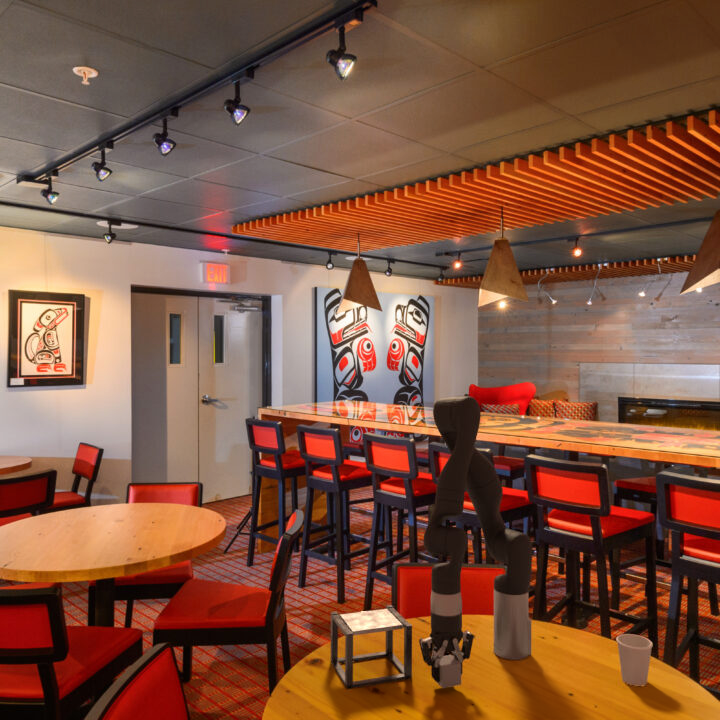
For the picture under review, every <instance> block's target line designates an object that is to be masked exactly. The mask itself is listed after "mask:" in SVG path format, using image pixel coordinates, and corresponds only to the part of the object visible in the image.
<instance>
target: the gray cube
mask: <svg viewBox="0 0 720 720" xmlns="http://www.w3.org/2000/svg"><path fill="white" fill-rule="evenodd" d="M439 667H440V682H436V684H438V685H439V686H440V687H441V688H442V689H446V688H450V687H455V686H461V685H462V675H461V663H460V662H459V661H458V660H457V659H455V657H454V655H452V654H448V655H446V654H445V655H443V658H441V660H440V664H439Z"/></svg>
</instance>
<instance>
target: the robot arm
mask: <svg viewBox="0 0 720 720" xmlns="http://www.w3.org/2000/svg"><path fill="white" fill-rule="evenodd" d="M432 411H433V412H432V414H433V421H434V423H435V427H436V428H437V430H438V432H439V434H440V437H441V438H442V440H443V441H444V443H445V445H446V447H447V449H448V451H449V453H450V456H449V458H448V459H447V461H446V463H445V464H444V466H443V467H442V469H441V472H440V474H439V476H438V479H437V484H436V491H435V498H434V499H435V501H434V506H433V509H432V513H431V515H430V518H429V521H428V524H427V525H426V528H425V530H424V534H423V539H422V541H423V545H424V546H423V547H424V549H425V550H426V552H427V553H429V554H432V555H437V556H443V557H449V558H450V559H449V562H441V563H440V562H439V563H436V564H434V565H433V566H432V568H431V572H430V573H431V576H430V577H431V581H430V582H431V593H430V630H431V631H430V634H429V636H430V637H429V636H428V637H427V638H423V637H422V638H419V640H418V642H419V647H420V651H421V655H422V659H423V662H424V663H425V664H426V665H427V666H428V667H430V669H431V672H430V673H431V678H432V679H433V680H434V682H436V683H437V682H440V667H439V664H440V660H441V658H443V656H445V654H444V653H446V652H448V651H452V652H451V653H452V654H453V655H452V656H453V657H454V658H455V659H457V660H458V661H459V662H460V663H461V676H462V675H463V662H464V661H465V660H468V659H470V658H471V653H472V647H473V642H474V637H475V636H474V634H473V633H471V632H470V631H469V630H465V631H463V630H462V628H463V599H462V593H461V592H462V591H461V589H462V588H461V587H462V586H461V576H462V574H461V573H462V567H463V562H464V559H465V555H466V551H467V547H468V542H469V539H468V535H467V533H466V530H464V529H463V528H462V527H458V526H450V525H444V522H445V521H446V520H447V519H449V518H455V517H456V518H457V517H460V516H462V514H463V512H464V504H465V494H466V492H467V495H468V497H469V499H470V502H471V504H472V506H473V509H474V511H475V514H476V517H477V518H478V521H479V524H480V528H481V531H482V535H483V538H484V542H485V545H486V548H487V551H488V553H489V555H490V556H491V557H492V559H493V560H495V561H497V562H500V563H502V564H505V565H506V573H503V574H499V575H497V576H495V577H494V580H493V652H494V654H495V655H496V656H498V657H500V658H502V659H505V660H506V659H507V660H512V661H513V660H514V661H517V660H518V661H519V660H523V659H524V660H525V659H526V658H527V657H528V656H531V655H532V619H531V617H529V585H530V583H531V579H532V565H533V543H532V540H531V538H530V536H529V535H527V534H526V533H524V532H520V531H517V530H513V529H509V528H508V527H507V525H506V524H505V521H504V520H503V518H502V514H501V512H500V510H501V509H500V507H501V503H502V500H503V493H504V491H503V486H502V483H501V480H500V477H499V474H498V473H497V470H496V468H495V466H494V465H493V463H492V462H491V460H489V459H488V458H487V457H486V456H485V454H483V453H482V452H481V451H480V450H478V449H477V447H476V446H475V445H476V441H477V437H478V433H479V429H480V423H481V407H480V404H479V402H478V401H477V399H476V398H475V397H473V396H467V395H466V396H452V397H443V398H440V399H438V400H436V401H435V403H434V405H433V409H432ZM461 641H462V644H461V647H460V643H461ZM431 642H432V643H433V644H434V646H433V649H432V652H431V651H430V650H429V648H430V644H431ZM438 650H439V652H438ZM430 652H431V653H430Z"/></svg>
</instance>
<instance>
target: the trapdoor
mask: <svg viewBox="0 0 720 720" xmlns="http://www.w3.org/2000/svg"><path fill="white" fill-rule="evenodd" d="M338 615H339V616H340V618H341V619H342V620H343V622H344V623H345V624H346V625H347V627H348V628H349V629H350V631H352V633H353V636H358V635H359V636H360V635H366V634H373V633H381V632H386V631H390V630H393V631H395V630H396V631H397V630H404V628H403V625H402V624H401V623H400V622H399V621H398V620H397V619H396V618H395V617H394V615H393V614H392V613H391V612H390V611H389V610H388V609H386V608H381V609H372V610H371V609H370V610H365V611H356V612H348V613H338Z"/></svg>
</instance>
